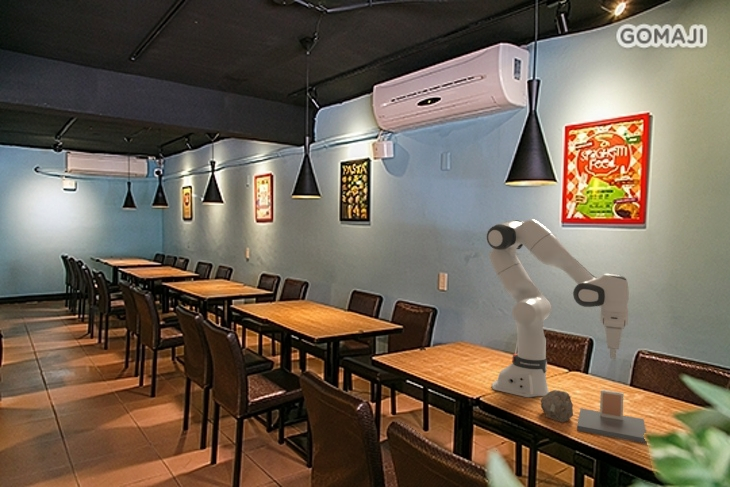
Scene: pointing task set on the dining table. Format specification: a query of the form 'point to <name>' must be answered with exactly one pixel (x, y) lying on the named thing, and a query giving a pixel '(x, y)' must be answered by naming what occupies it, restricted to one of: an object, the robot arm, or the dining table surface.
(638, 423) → the board
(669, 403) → the dining table surface
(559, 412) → the rock
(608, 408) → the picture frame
